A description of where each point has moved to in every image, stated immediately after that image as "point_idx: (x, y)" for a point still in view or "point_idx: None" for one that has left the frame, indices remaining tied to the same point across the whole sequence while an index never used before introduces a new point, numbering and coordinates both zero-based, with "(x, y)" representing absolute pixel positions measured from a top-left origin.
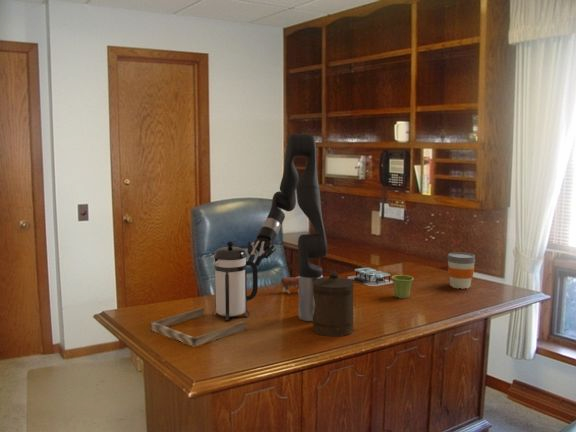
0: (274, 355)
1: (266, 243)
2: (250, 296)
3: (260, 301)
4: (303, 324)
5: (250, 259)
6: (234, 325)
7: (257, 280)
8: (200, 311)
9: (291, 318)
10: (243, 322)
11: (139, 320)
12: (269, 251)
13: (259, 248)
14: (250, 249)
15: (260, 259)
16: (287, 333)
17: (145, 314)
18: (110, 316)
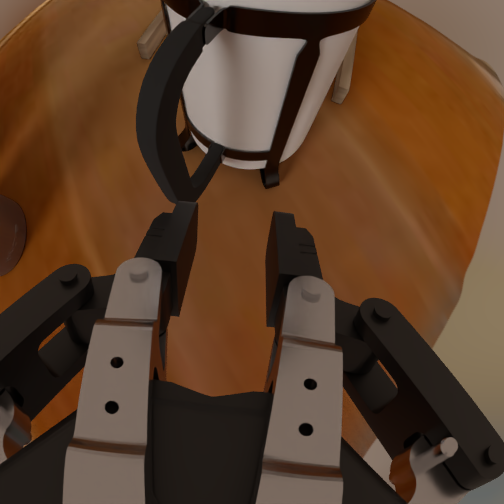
0: (52, 13)
1: (50, 502)
2: (195, 171)
3: (237, 349)
4: (7, 172)
5: (276, 229)
6: (157, 16)
7: (157, 182)
8: (338, 81)
9: (43, 202)
10: (141, 37)
11: (425, 46)
12: (2, 330)
13: (200, 397)
14: (389, 363)
15: (141, 255)
16: (35, 95)
17: (451, 81)
18: (478, 64)
